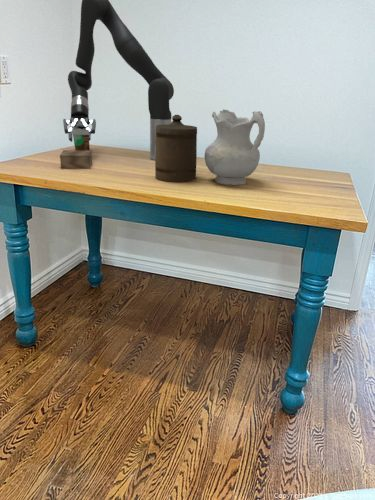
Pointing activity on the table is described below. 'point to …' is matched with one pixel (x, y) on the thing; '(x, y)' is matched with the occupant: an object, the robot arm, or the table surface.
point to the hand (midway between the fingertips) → (79, 140)
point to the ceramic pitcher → (234, 148)
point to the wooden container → (176, 151)
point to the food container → (80, 138)
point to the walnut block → (76, 159)
